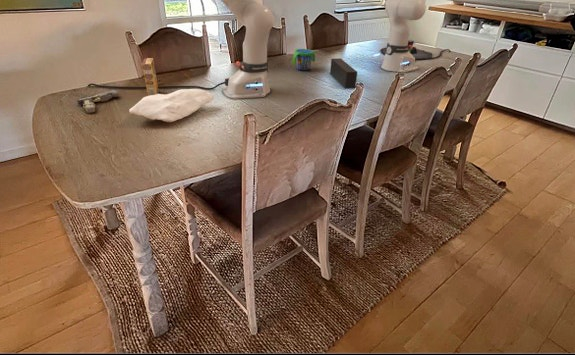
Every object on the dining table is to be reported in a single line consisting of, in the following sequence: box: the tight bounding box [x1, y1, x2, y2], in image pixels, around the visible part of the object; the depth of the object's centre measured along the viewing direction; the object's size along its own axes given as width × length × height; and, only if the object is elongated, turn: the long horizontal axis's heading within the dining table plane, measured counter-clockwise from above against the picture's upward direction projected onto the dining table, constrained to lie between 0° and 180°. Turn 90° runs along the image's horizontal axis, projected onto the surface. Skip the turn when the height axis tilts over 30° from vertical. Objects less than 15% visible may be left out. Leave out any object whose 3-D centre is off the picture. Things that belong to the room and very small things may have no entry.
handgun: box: [76, 89, 120, 114], centre depth 155 cm, size 3×18×15 cm
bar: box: [329, 58, 358, 89], centre depth 193 cm, size 26×6×8 cm, turn 12°
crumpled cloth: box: [129, 88, 214, 123], centre depth 147 cm, size 24×35×9 cm
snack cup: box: [291, 48, 316, 71], centre depth 207 cm, size 16×10×10 cm
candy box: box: [141, 57, 160, 96], centre depth 163 cm, size 9×4×15 cm, turn 13°
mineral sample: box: [380, 39, 433, 59], centre depth 249 cm, size 35×35×9 cm
